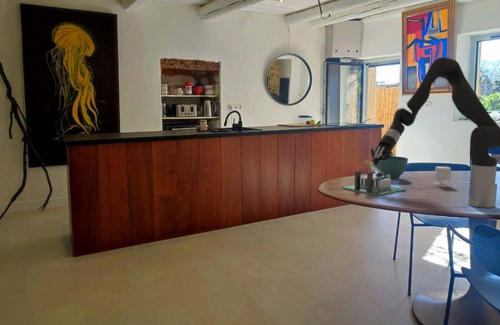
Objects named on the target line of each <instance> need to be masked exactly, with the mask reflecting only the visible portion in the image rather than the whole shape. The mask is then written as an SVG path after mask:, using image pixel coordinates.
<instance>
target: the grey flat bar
mask: <svg viewBox="0 0 500 325" xmlns="http://www.w3.org/2000/svg"><path fill="white" fill-rule="evenodd" d="M363 162H364V163H365V165H367V166H368V167H369V168H370V169H371V170H372V172H373V173H375V175H376V174H377V175H378V176H379V177H380V178H383V177H384V178H386V175H385V174H384V173H383V172H382V171H381V170H380V169H379V168H378V167H377V166H376V165H375V164H374V163H373V162H372V160H368V159H365V160H364V161H363Z"/></svg>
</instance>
